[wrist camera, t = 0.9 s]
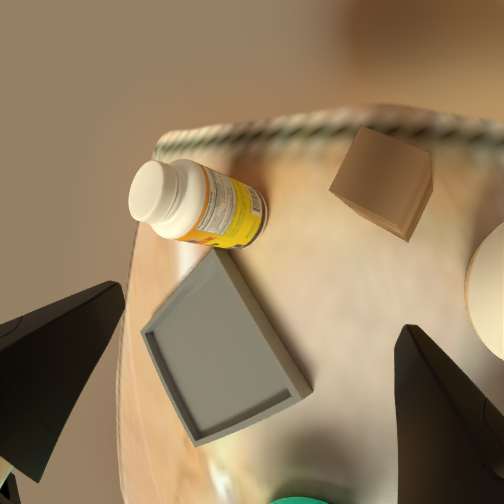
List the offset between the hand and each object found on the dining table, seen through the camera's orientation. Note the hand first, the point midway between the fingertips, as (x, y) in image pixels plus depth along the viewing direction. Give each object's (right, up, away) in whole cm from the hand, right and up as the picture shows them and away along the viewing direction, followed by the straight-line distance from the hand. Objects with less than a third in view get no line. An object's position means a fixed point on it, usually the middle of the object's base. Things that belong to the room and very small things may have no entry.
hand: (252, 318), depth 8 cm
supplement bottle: (-1, +5, +17) cm, 18 cm away
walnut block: (+10, +5, +9) cm, 14 cm away
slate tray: (-3, -8, +17) cm, 19 cm away
